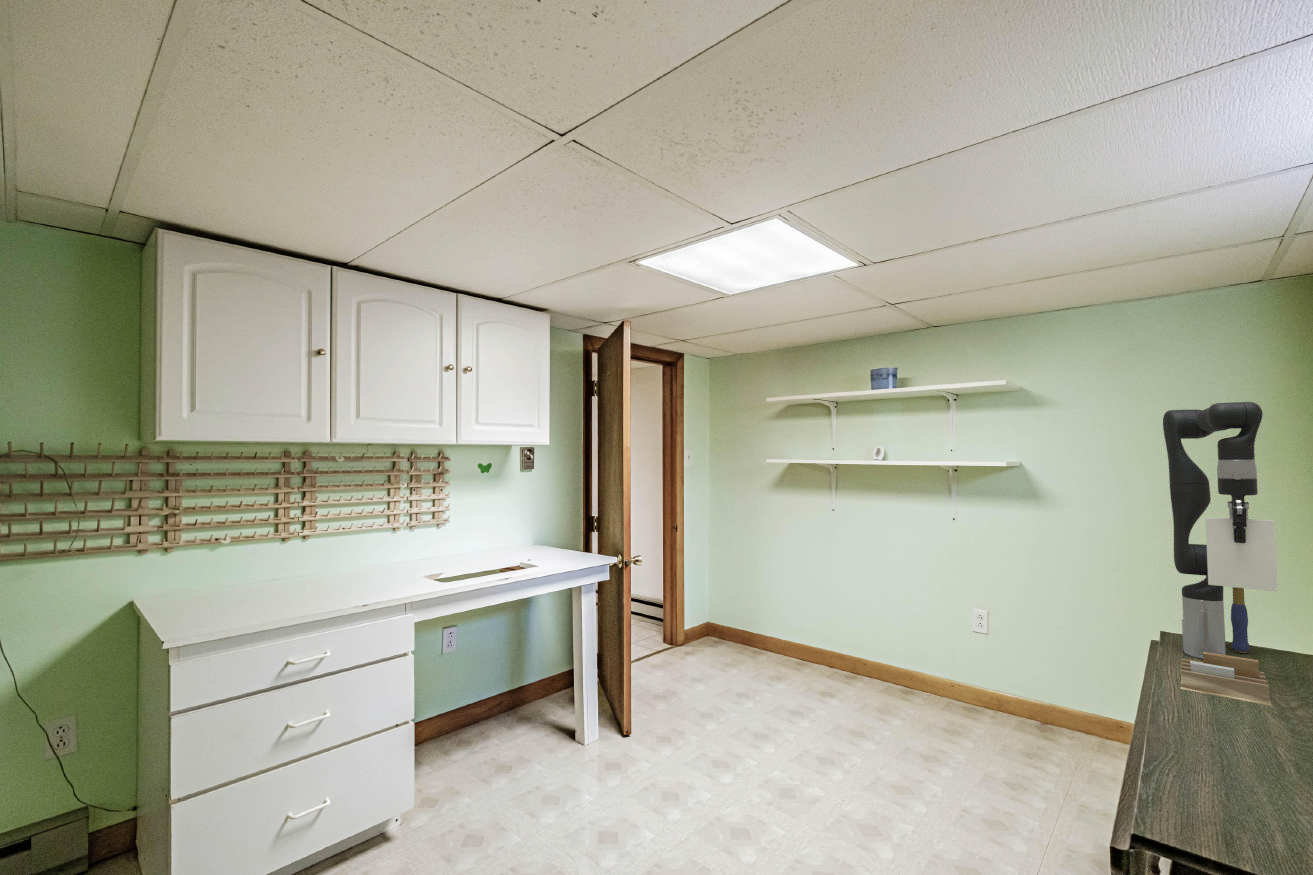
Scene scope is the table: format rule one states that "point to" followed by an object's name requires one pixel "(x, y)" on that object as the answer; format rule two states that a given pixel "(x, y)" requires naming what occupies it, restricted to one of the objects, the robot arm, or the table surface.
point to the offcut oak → (1234, 664)
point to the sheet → (1241, 554)
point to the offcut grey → (1212, 669)
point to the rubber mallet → (1239, 622)
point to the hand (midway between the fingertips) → (1239, 542)
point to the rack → (1226, 685)
